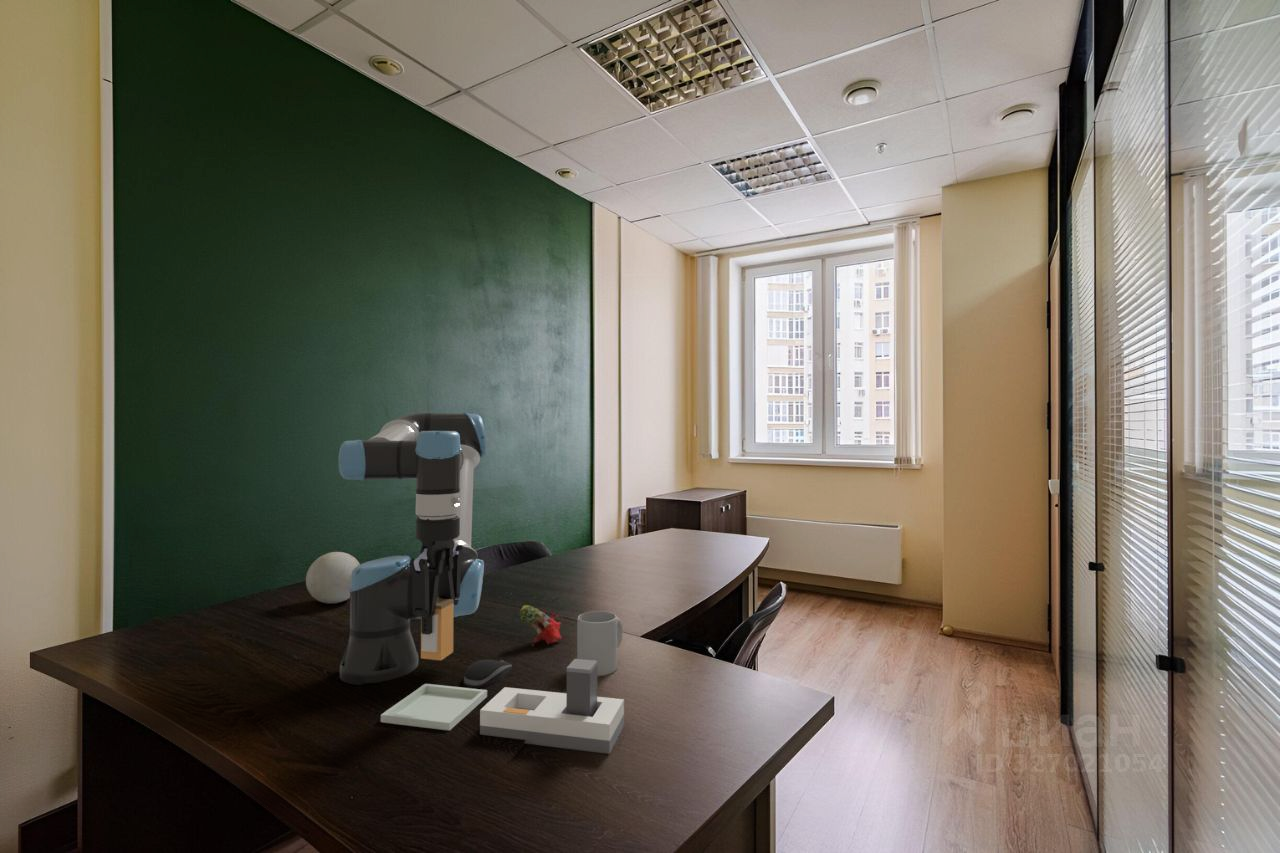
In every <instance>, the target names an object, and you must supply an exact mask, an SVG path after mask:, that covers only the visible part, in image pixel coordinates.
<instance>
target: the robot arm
mask: <svg viewBox="0 0 1280 853" xmlns="http://www.w3.org/2000/svg"><path fill="white" fill-rule="evenodd" d="M485 436H486V435H485V425H484V422H483V418H482V417H481V416H480V415H479V414H478V413H467V412H463V413H445V412H444V413H441V412H440V413H439V412H428V413H427V412H417V413H412V414H407V415H405V416H400V417H397V418H395V419H393V420H390V421H388V422H387V423H385V424H384V425H382V428H381V429H380V430H379V432H378V433H377V434H376V435H373V436H371V437H370V438H369V439H365V440H363V439H362V440H360V439H356V440H346V441H344V442H342V443H341V445H340V446H339V452H338V471H339V473H340V476H341V477H342V479H344V480H353V481H354V480H358V481H361V482H362V481H365V480H369V481H370V480H374V481H375V480H416V489H415V515H416V516H417V519H416V520H415V538H416V539H417V540H419V541H420V542H421V546H420V550H419V555H418V557H416V558H411V557H410V556H409V555H400V554H399V555H392V556H386V557H381V558H377V559H372V560H368V561H365V562H362V563H360V565H358V566H357V567H356V568H355V569H354V570H353V571H352V573H351V583H350V588H349V591H350V598H349V639H348V641H347V645H346V647H345V650H344V653H343V655H342V659H341V661H340V664H339V679H340V681H342V682H343V683H345V684H349V685H356V686H363V685H364V684H372V683H373V684H375V683H381V682H387V681H391V680H395V679H399V678H401V677H403V676H406V675H408V674H410V673H411V672H413V671H414V670H416V668H418V666H419V652H418V651H417V648H416V645H415V642H414V638H413V635H412V632H411V620H416V619H418V620H419V619H420V633H421V632H422V651H427V652H437V651H438V614H435V608H436V600H437V598H442V599H454V611H453V618H457V617H459V616H467V615H472V614H474V613H475V612H476V611H477V610H478V609H479V605H480V600H481V596H482V589H483V580H484V579H483V578H484V573H485V562H484V560H483V559H480V558H478V552H477V551H476V550H475V549H474V548H473V547H472V531H473V530H472V528H473V527H472V526H473V502H474V501H473V500H474V470H475V468H476V467H478V465H479V464H480V461H481V459H483V458H485V457H486V455H487V446H486V445H487V444H486V438H485Z"/></svg>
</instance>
